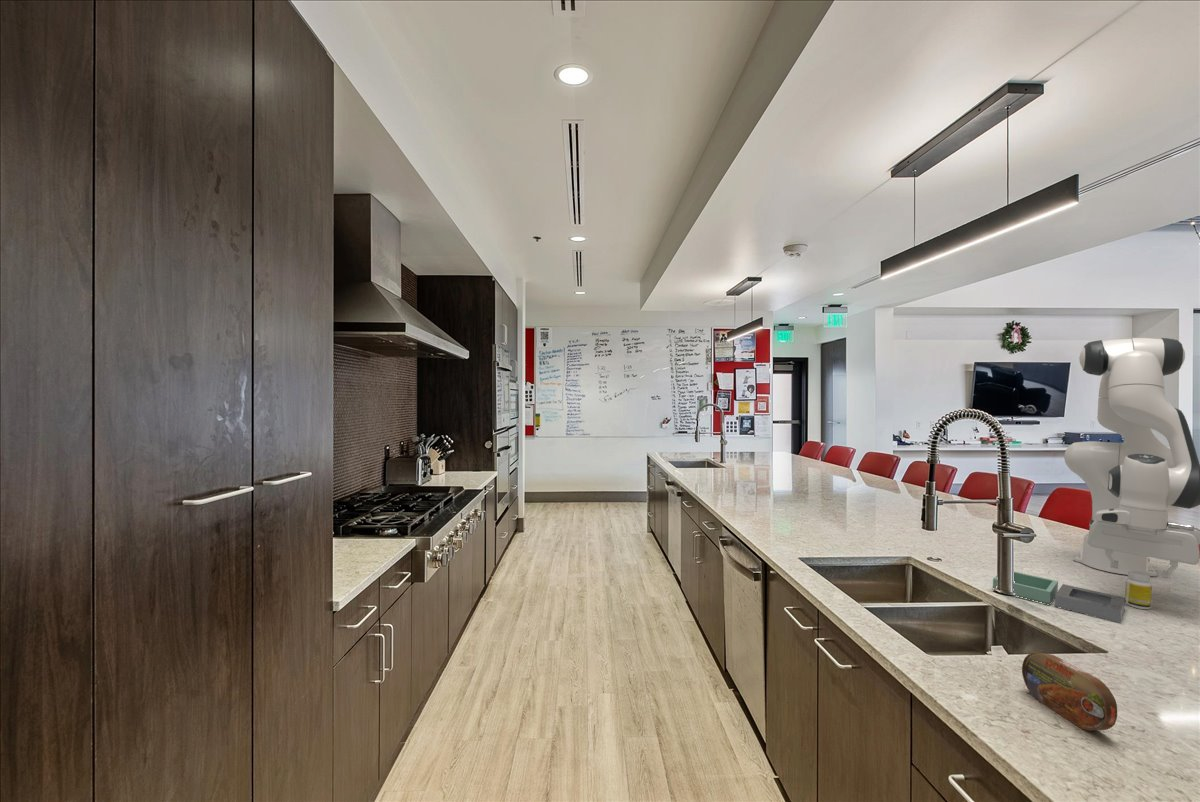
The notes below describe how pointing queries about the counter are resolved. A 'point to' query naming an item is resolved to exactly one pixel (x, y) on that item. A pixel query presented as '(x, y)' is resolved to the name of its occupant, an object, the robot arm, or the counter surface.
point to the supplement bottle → (1138, 590)
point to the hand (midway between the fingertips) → (1139, 572)
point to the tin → (1070, 691)
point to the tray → (1033, 587)
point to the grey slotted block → (1091, 602)
